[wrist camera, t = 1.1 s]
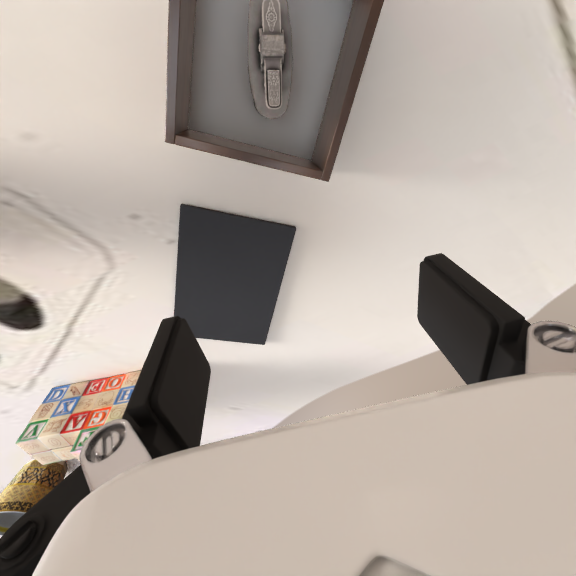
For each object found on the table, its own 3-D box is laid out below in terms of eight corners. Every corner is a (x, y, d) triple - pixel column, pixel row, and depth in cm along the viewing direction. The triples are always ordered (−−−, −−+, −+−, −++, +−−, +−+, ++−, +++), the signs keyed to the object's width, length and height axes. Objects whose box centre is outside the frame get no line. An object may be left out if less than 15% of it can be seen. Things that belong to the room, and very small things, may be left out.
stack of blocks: (73, 409, 50) (27, 488, 40) (52, 386, 47) (-4, 466, 37) (195, 386, 51) (181, 458, 40) (183, 361, 47) (164, 433, 37)
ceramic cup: (12, 449, 54) (-31, 512, 46) (73, 449, 56) (42, 510, 48) (28, 483, 61) (-7, 545, 52) (82, 483, 63) (56, 541, 54)
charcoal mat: (173, 332, 44) (172, 335, 43) (181, 203, 34) (180, 205, 34) (264, 342, 47) (264, 344, 47) (295, 226, 37) (296, 228, 37)
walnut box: (179, 135, 30) (164, 142, 25) (190, -84, 23) (172, -144, 17) (315, 169, 34) (328, 181, 28) (365, -12, 26) (397, -42, 21)
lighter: (244, 11, 26) (241, -34, 17) (282, 11, 26) (297, -32, 18) (251, 116, 30) (252, 120, 22) (283, 115, 30) (296, 119, 22)
